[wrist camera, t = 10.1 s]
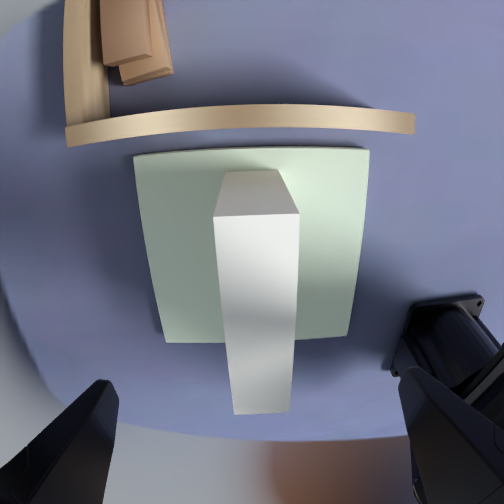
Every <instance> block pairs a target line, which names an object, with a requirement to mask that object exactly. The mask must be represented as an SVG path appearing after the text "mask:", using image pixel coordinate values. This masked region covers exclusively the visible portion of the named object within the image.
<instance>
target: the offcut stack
mask: <svg viewBox="0 0 504 504" xmlns="http://www.w3.org/2000/svg"><path fill="white" fill-rule="evenodd" d="M100 18H101V37H102V51H103V62H104V65H107V66H112V67H114V66H118V65H119V70H120V75H121V79H122V82H124V86H132V85H135V84H138V83H142V82H146V81H149V80H153V79H157V78H161V77H165V76H169V75H173V74H174V72H173V66H172V60H171V54H170V47H169V41H168V34H167V27H166V21H165V14H164V6H163V0H100Z"/></svg>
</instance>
